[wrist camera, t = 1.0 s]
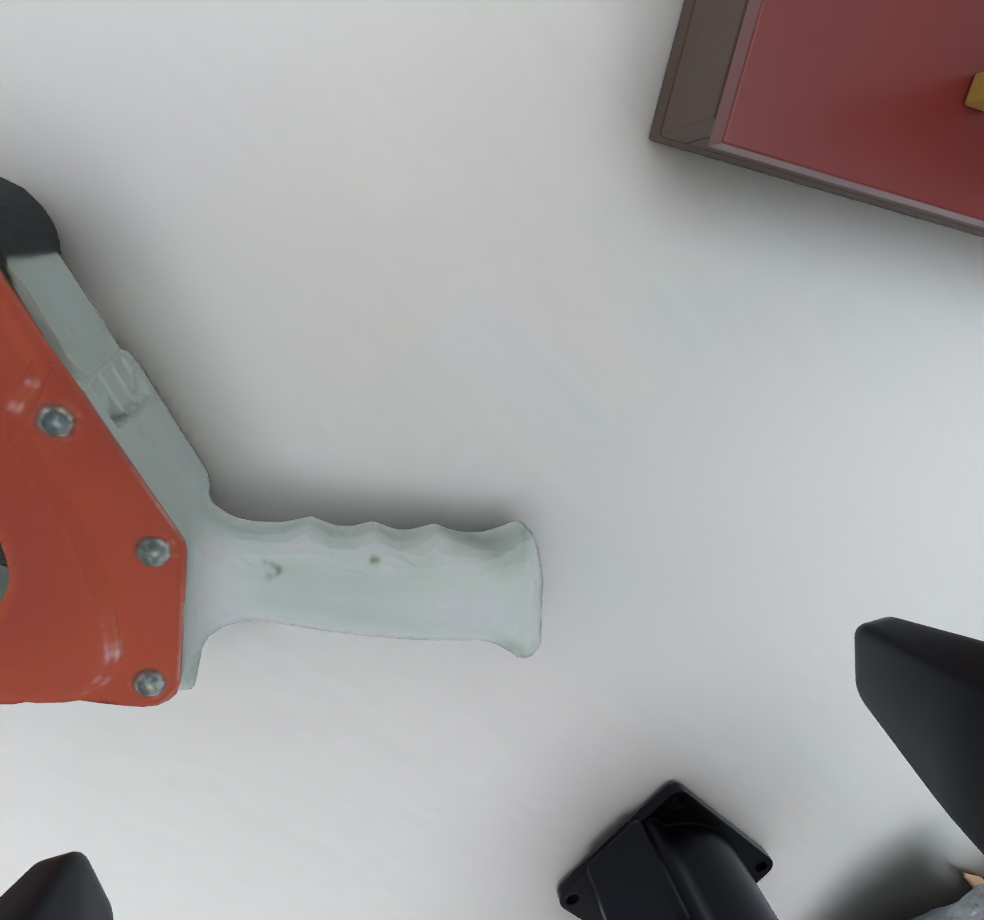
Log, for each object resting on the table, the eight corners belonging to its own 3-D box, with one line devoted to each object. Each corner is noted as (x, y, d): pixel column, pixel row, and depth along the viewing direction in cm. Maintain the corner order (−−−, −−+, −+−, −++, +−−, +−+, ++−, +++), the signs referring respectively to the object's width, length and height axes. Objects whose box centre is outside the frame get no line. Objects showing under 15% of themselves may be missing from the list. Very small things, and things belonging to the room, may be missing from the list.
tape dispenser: (550, 567, 25) (154, -44, 16) (613, 654, 20) (96, -150, 11) (119, 859, 24) (-525, 375, 16) (75, 1024, 19) (-894, 450, 11)
